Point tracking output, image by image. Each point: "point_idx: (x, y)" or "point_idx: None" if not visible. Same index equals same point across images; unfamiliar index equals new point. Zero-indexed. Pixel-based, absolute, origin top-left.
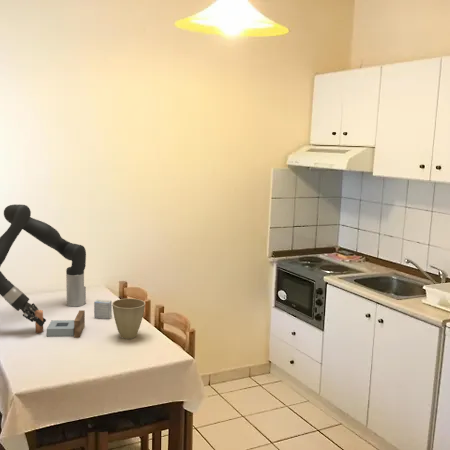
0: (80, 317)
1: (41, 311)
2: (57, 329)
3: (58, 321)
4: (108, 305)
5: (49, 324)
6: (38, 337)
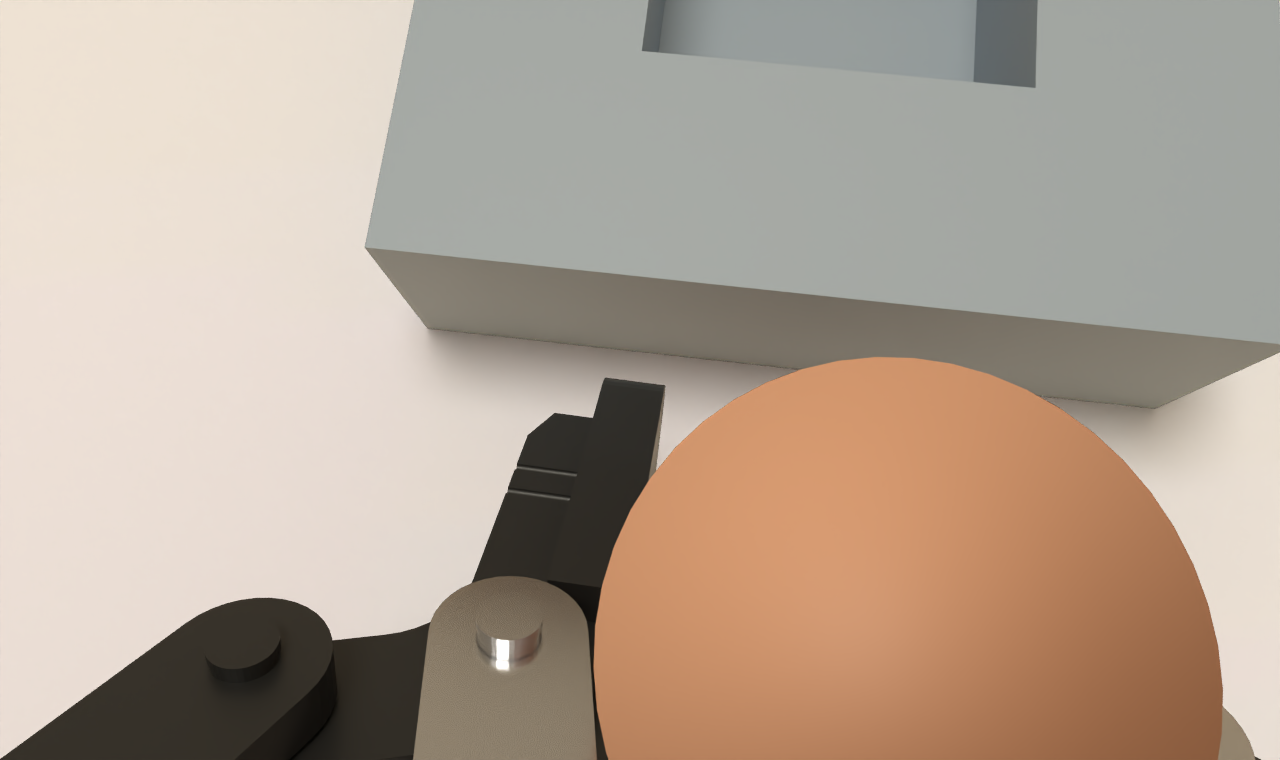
0: None
1: (1009, 449)
2: (1267, 22)
3: (522, 23)
4: None
5: (801, 280)
6: (1220, 633)
